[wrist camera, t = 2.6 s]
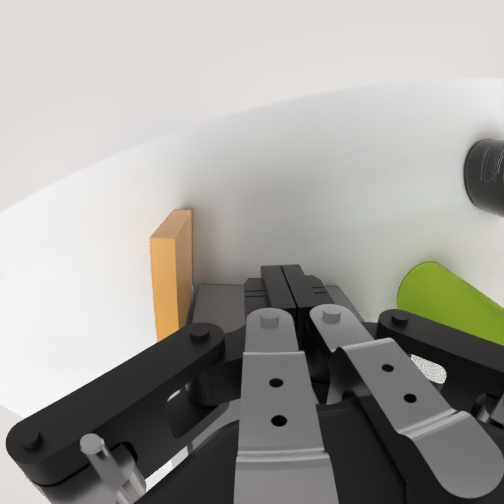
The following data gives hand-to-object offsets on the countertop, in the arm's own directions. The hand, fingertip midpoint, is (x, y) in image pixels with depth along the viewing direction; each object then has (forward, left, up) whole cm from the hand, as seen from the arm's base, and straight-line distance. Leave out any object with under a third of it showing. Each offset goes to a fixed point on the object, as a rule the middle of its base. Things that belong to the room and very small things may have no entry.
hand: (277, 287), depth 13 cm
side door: (-9, +5, -10) cm, 15 cm away
